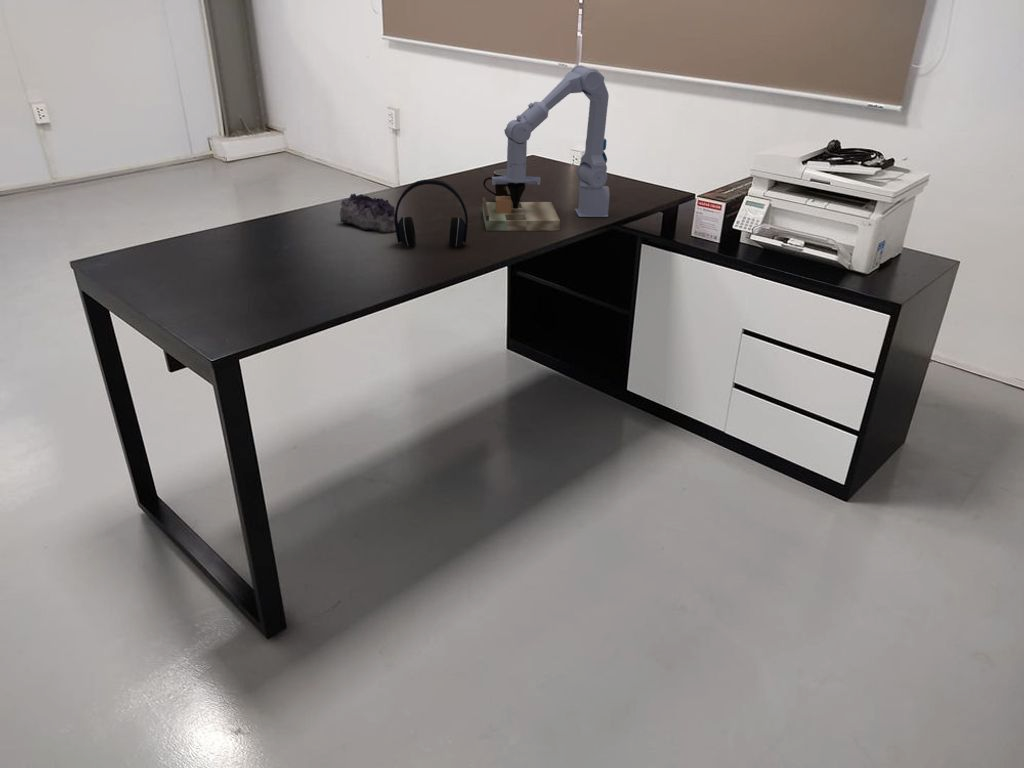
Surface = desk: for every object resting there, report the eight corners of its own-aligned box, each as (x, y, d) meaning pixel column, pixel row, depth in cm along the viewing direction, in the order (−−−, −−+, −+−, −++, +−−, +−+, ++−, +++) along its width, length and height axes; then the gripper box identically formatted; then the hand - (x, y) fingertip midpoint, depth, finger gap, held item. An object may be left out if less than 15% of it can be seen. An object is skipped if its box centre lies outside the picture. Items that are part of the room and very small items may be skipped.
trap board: (550, 211, 248) (551, 197, 246) (559, 230, 230) (560, 215, 228) (482, 211, 246) (482, 197, 244) (486, 230, 228) (486, 215, 226)
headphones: (395, 249, 212) (391, 183, 203) (397, 241, 218) (393, 176, 209) (467, 249, 213) (467, 183, 204) (467, 241, 219) (467, 177, 210)
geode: (411, 227, 230) (407, 196, 224) (384, 242, 223) (380, 209, 217) (362, 212, 240) (357, 181, 234) (335, 225, 232) (329, 194, 226)
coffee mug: (520, 200, 259) (521, 170, 254) (518, 207, 251) (518, 176, 246) (486, 198, 259) (486, 168, 255) (482, 205, 252) (482, 174, 247)
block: (509, 209, 238) (510, 196, 236) (511, 213, 234) (511, 200, 232) (495, 209, 238) (495, 196, 236) (496, 213, 234) (496, 200, 232)
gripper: (539, 159, 234) (537, 204, 240) (491, 159, 232) (490, 204, 239) (542, 165, 227) (540, 210, 234) (493, 165, 226) (492, 210, 233)
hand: (515, 207), depth 236 cm, fingers closed
